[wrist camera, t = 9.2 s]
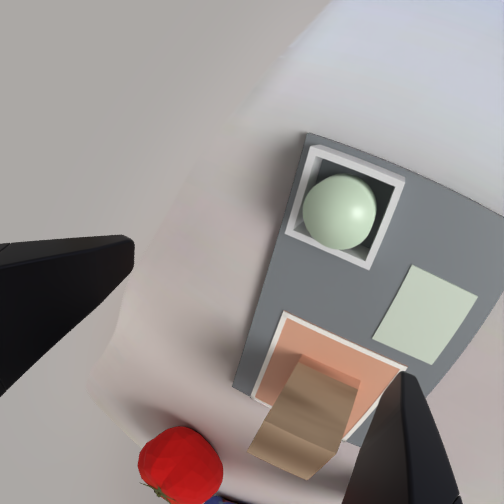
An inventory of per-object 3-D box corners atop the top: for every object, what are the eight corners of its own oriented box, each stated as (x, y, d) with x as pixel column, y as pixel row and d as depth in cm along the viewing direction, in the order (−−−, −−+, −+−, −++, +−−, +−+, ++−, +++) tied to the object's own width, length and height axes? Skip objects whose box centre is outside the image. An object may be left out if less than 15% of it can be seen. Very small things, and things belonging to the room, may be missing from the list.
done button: (363, 247, 17) (357, 260, 16) (305, 222, 18) (294, 233, 17) (386, 188, 16) (383, 195, 14) (324, 163, 17) (314, 168, 15)
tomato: (223, 426, 33) (174, 489, 25) (244, 478, 37) (208, 531, 29) (154, 402, 39) (105, 450, 30) (182, 455, 43) (144, 499, 34)
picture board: (373, 446, 25) (367, 467, 23) (235, 382, 29) (221, 400, 27) (529, 232, 14) (543, 247, 12) (310, 133, 18) (296, 133, 16)
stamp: (334, 415, 24) (307, 480, 19) (283, 391, 26) (246, 451, 20) (360, 380, 22) (336, 453, 16) (302, 353, 23) (263, 420, 18)
